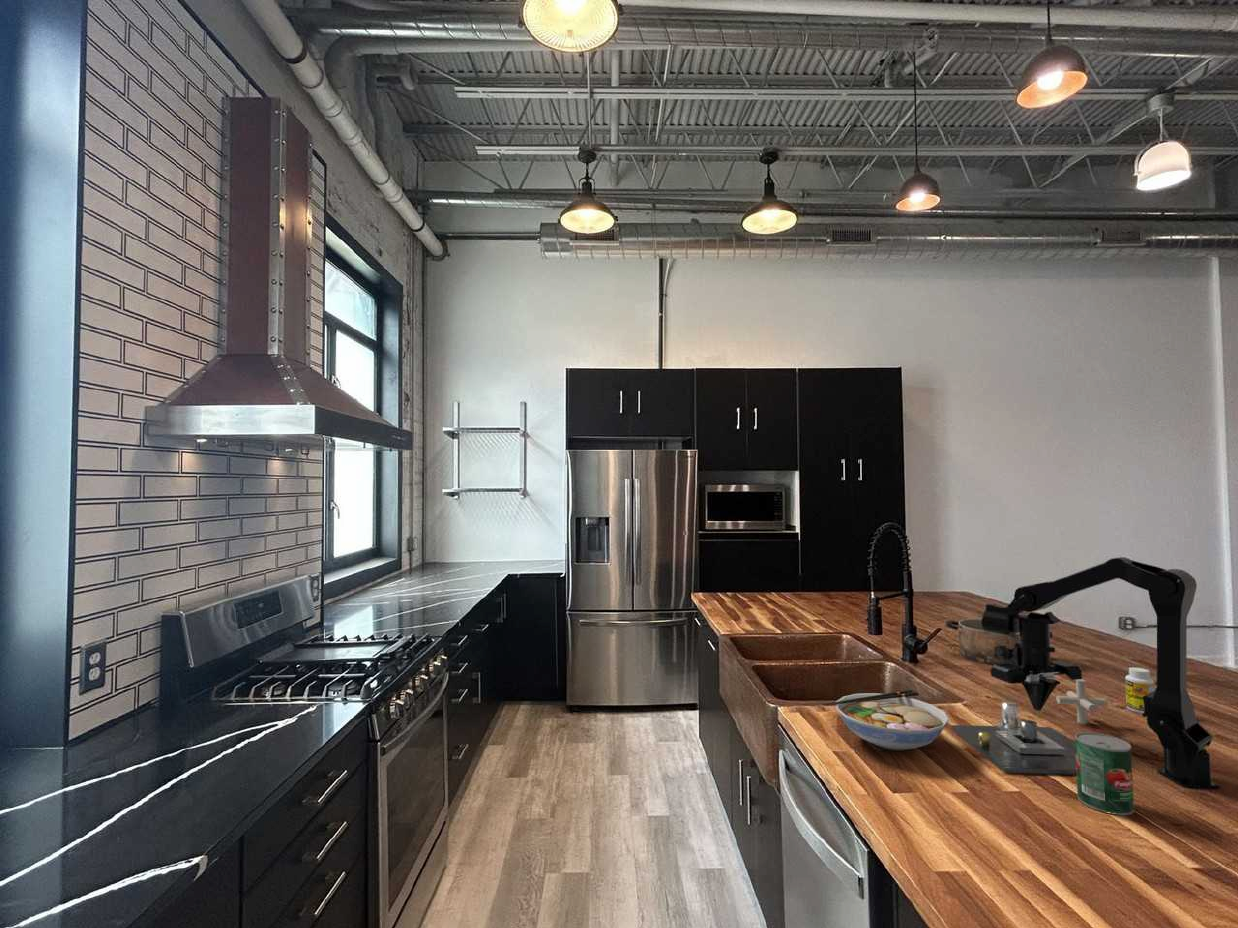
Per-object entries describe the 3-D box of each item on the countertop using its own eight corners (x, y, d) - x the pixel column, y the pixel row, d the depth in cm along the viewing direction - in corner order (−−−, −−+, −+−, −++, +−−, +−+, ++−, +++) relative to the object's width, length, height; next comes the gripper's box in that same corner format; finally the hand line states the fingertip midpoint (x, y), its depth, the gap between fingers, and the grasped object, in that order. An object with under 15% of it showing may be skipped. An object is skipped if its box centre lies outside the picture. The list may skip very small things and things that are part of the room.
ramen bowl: (877, 774, 119) (876, 732, 119) (811, 730, 141) (810, 694, 141) (980, 759, 126) (979, 719, 126) (901, 719, 148) (900, 685, 148)
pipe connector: (1118, 732, 139) (1117, 688, 139) (1069, 729, 141) (1068, 685, 141) (1094, 716, 149) (1092, 675, 149) (1048, 713, 151) (1047, 672, 151)
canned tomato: (1078, 788, 113) (1076, 728, 113) (1133, 802, 108) (1131, 739, 108) (1076, 805, 107) (1073, 742, 107) (1134, 821, 102) (1131, 754, 102)
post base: (1123, 776, 118) (1121, 744, 118) (1005, 773, 119) (1004, 742, 119) (1050, 731, 140) (1049, 705, 140) (951, 729, 141) (950, 703, 141)
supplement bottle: (1120, 708, 154) (1119, 667, 155) (1136, 705, 156) (1134, 665, 156) (1145, 716, 149) (1143, 673, 149) (1161, 713, 151) (1159, 671, 151)
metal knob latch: (1065, 754, 125) (1064, 723, 125) (1019, 753, 125) (1018, 722, 126) (1024, 728, 139) (1023, 700, 139) (983, 727, 139) (982, 699, 140)
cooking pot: (943, 660, 200) (942, 627, 200) (949, 645, 218) (948, 615, 219) (1055, 674, 183) (1054, 638, 184) (1052, 657, 202) (1050, 624, 202)
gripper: (1040, 630, 148) (1043, 696, 147) (972, 634, 145) (974, 700, 144) (1082, 641, 137) (1085, 712, 136) (1009, 645, 134) (1011, 717, 133)
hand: (1037, 710), depth 138 cm, fingers closed
